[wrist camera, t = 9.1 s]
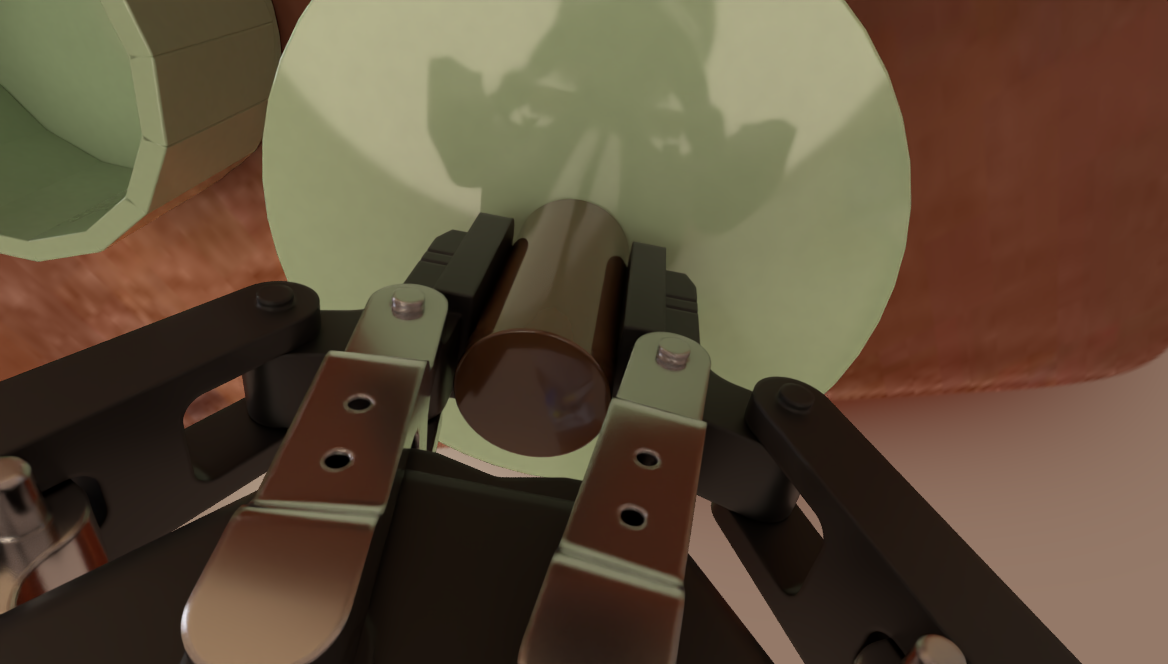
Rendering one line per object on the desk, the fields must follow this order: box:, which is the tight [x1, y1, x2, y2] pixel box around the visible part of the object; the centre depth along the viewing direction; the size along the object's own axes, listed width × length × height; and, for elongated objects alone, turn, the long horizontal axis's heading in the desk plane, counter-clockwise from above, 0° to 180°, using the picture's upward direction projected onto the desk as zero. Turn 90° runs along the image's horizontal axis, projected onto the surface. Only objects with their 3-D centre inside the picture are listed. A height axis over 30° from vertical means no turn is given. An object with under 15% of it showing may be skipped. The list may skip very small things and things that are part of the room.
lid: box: [262, 0, 911, 481], centre depth 14 cm, size 15×15×7 cm
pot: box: [0, 0, 282, 262], centre depth 23 cm, size 14×14×8 cm
